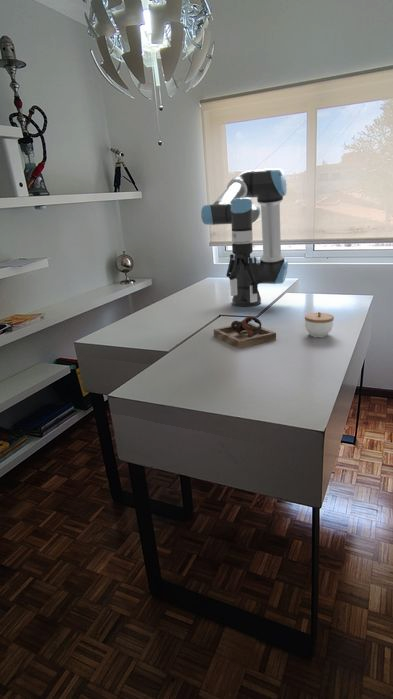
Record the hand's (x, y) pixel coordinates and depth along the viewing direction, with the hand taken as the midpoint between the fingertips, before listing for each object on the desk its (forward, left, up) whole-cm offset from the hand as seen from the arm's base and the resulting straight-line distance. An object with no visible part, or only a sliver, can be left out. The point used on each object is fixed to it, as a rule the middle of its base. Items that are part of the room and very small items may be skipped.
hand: (243, 298), depth 162 cm
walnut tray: (0, 0, -16) cm, 16 cm away
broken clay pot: (0, +1, -15) cm, 15 cm away
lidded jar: (+15, +25, -16) cm, 33 cm away
